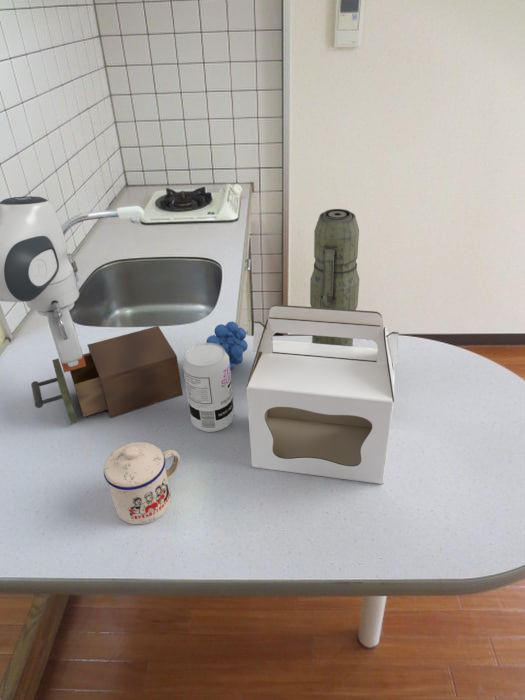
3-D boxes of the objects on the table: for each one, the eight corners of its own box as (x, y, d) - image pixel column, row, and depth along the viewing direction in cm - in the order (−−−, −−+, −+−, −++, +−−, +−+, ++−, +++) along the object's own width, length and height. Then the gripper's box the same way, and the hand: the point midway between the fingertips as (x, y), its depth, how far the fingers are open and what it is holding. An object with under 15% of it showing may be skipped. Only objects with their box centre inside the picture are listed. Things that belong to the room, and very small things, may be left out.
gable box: (250, 467, 89) (239, 326, 73) (266, 416, 99) (259, 283, 83) (384, 485, 84) (404, 339, 68) (386, 429, 95) (403, 292, 79)
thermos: (355, 364, 112) (366, 202, 92) (349, 399, 102) (361, 227, 83) (313, 360, 114) (316, 200, 94) (304, 394, 104) (305, 225, 84)
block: (64, 372, 96) (58, 354, 94) (61, 361, 99) (55, 343, 97) (86, 366, 97) (81, 348, 95) (82, 355, 101) (77, 338, 98)
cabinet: (110, 418, 101) (100, 378, 95) (97, 382, 110) (87, 344, 105) (183, 394, 106) (176, 355, 100) (164, 362, 115) (158, 325, 110)
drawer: (43, 433, 96) (31, 400, 92) (37, 398, 105) (25, 366, 101) (141, 402, 103) (134, 370, 98) (127, 371, 111) (120, 341, 107)
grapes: (224, 392, 106) (219, 342, 99) (201, 379, 109) (194, 331, 103) (262, 364, 113) (259, 316, 106) (238, 354, 117) (235, 307, 110)
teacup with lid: (133, 537, 78) (118, 484, 71) (104, 502, 84) (88, 449, 77) (198, 493, 84) (190, 441, 78) (167, 463, 90) (157, 412, 84)
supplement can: (187, 410, 101) (177, 346, 93) (228, 401, 103) (222, 337, 95) (195, 438, 95) (185, 372, 86) (239, 428, 97) (234, 361, 88)
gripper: (79, 312, 83) (99, 381, 91) (61, 264, 98) (79, 327, 106) (38, 322, 81) (61, 392, 88) (26, 271, 96) (46, 335, 104)
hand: (70, 356), depth 97 cm, fingers closed on block, 4 cm apart
